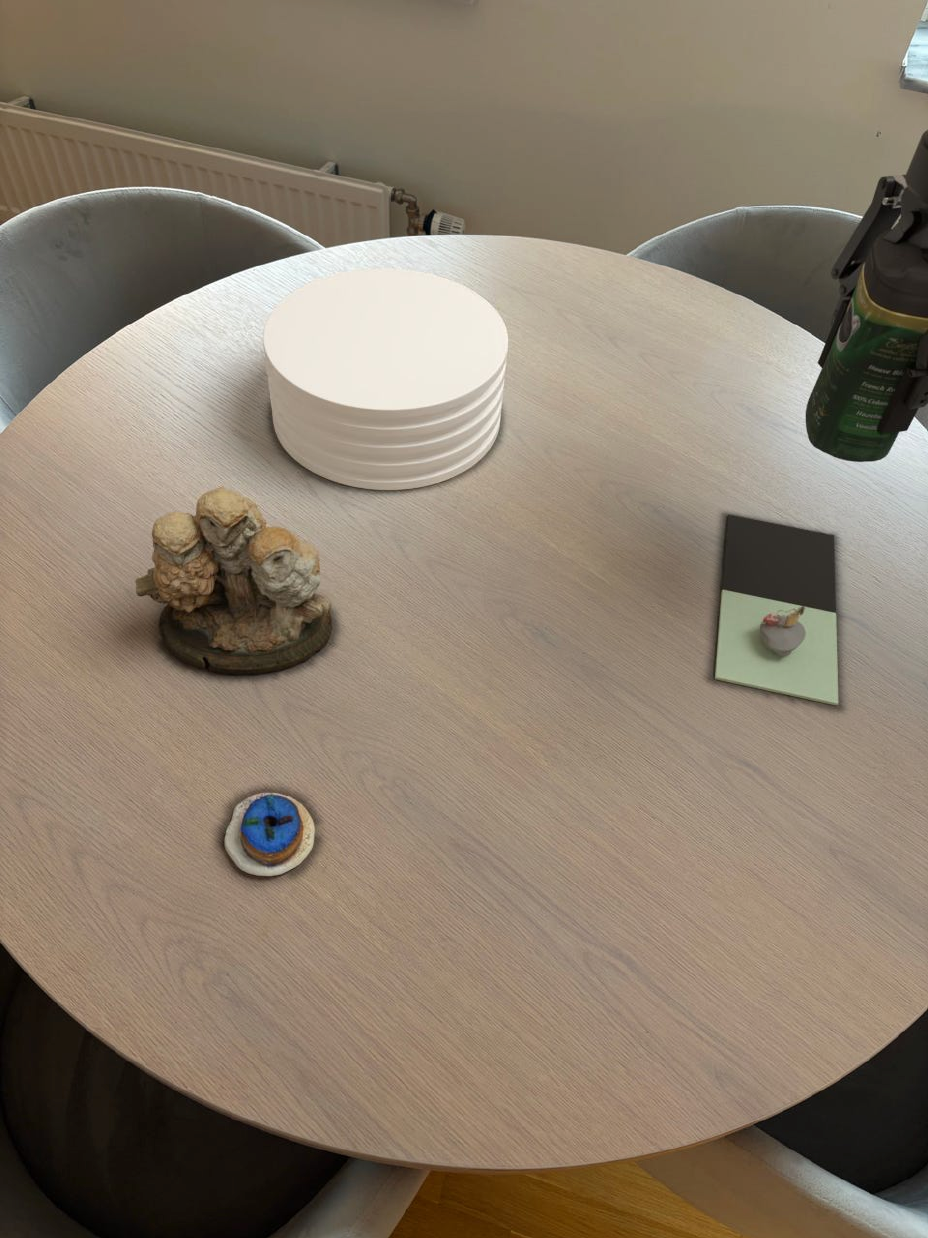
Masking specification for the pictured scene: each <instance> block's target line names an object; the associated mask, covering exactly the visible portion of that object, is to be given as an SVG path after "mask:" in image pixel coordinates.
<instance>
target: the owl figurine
mask: <svg viewBox="0 0 928 1238" xmlns="http://www.w3.org/2000/svg"><path fill="white" fill-rule="evenodd" d="M262 515H263V514H262V512H261V511H260V510H259V509H258V505H257V503H256V502H255V501H254V499H251V498H249V497H246V496H243V495H242V494H241V493H238V492H236V491H235V490H233V489H228V488H227V487H225V486H221V485H220V487H217V488H214V489H211V490H209V491H207V492H205V493H203V494H202V495H201V496H200V497H199V498H198V499H197V502H196V508H195V515H193V514H191V513H190V512H181V511H172V512H168V513H166V514H164V515H161V516H160V517H158V518H157V519H155V521H154V523H153V525H152V530H151V537H152V540H151V541H152V547H153V551H152V555H151V560H152V563H153V564H154V567H152V568H151V567H150V568H149V569H147V573H146V574H145V575H144V576H141V577H138V578H136V579H135V581H134V583H135V593H136V595H137V596H138V597H145V596H148V597H150V598H151V599H152V600H153V601H154V602H156V603H159V604H164V605H165V604H166V605H165V606H164V608H163V609H162V611H161V613H160V616H159V618H158V631H159V635H160V637H161V640H162V641H163V643H164V645H165V646H166V648H167V649H168V650H169V651H170V652H171V653H172V655H174V656H175V657H176V658H178V659H179V660H180V661H182V662H184V663H186V664H188V665H192V666H195V667H196V668H199V669H202V670H203V669H204V668H205V667H206V663H205V661H204V659H203V658H205V659H206V661H207V662H208V664H209V665H208V666H207V667H208V670H210V671H211V672H215V673H217V674H225V675H226V674H227V675H259V674H265V673H271V672H277V671H282V670H285V669H288V668H289V669H290V668H292V667H294V666H297V665H299V664H300V663H303V662H306V661H308V660H309V659H310V658H311V657H312V656H313V655H315V653H316V652H317V651H318V652H320V651H322V650H323V649H324V648H325V646H326V645H327V644H328V642H329V640H330V638H331V635H332V631H333V617H332V613H331V611H330V610H331V609H332V604H331V602H330V601H329V600H327V599H326V598H324V597H322V596H320V595H318V594H316V592H317V590H318V588H319V586H320V584H321V575H320V572H321V571H320V570H321V567H320V562H321V561H320V557H319V551H318V550H317V548H316V547H315V546H314V545H313V544H311V543H310V542H307V541H303V540H302V539H301V538H300V536H298V535H297V534H295V533H294V534H293V533H292V532H291V531H290V530H288V529H287V528H286V527H285V528H284V527H281V526H267V521H266V518H264V517H263V516H262Z"/></svg>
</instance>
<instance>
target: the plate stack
mask: <svg viewBox="0 0 928 1238" xmlns="http://www.w3.org/2000/svg"><path fill="white" fill-rule="evenodd" d="M262 342H263V343H262V344H263V351H264V357H265V358H264V360H265V367H266V373H267V383H268V390H269V401H270V407H271V414H272V424H273V429H274V432H275V434H276V437H277V439H278V441H279V443H280V444H281V446H282V447H283V449H284V450H285V451H286V452H287V454H288V455H289V456H290V457H291V458H292V459H293V460H295V462H297V463H298V464H299V465H300V466H302V467H304V468H305V469H307V470H309V471H310V472H311V473H313V474H316V475H317V476H320V477H322V478H324V479H327V480H329V481H331V482H335V483H338V484H341V485H345V486H349V487H354V488H359V489H364V490H375V491H400V490H401V491H402V490H411V489H418V488H423V487H429V486H432V485H435V484H439V483H441V482H445V481H448V480H451V479H452V478H455V477H457V476H459V475H461V474H462V473H464V472H466V471H468V470H469V469H471V468H472V467H473V466H475V465H476V464H477V463H478V462H480V461H481V460H482V459H483V458H484V457H485V456H486V455H487V454H488V452H489V451H490V450H491V449H492V447H493V445H494V443H495V442H496V439H497V437H498V434H499V431H500V425H501V418H502V417H501V416H502V406H503V399H504V398H503V396H504V387H505V376H506V369H507V358H508V352H509V351H508V350H509V334H508V329H507V327H506V324H505V322H504V320H503V318H502V316H501V315H500V313H499V312H498V311H497V309H496V308H494V306H493V305H492V304H491V303H490V302H489V301H487V299H485V298H484V297H483V296H481V295H480V294H478V293H477V292H475V291H474V290H473V289H470V288H468V287H467V286H465V285H463V284H461V283H459V282H456V281H453V280H451V279H449V278H446V277H442V276H439V275H436V274H432V273H427V272H423V271H417V270H412V269H402V268H391V267H390V268H389V267H388V268H386V267H385V268H383V267H381V268H380V267H378V268H377V267H376V268H361V269H353V270H347V271H341V272H337V273H332V274H329V275H326V276H323V277H319V278H317V279H314V280H311V281H310V282H307V283H305V284H303V285H301V286H299V287H297V288H296V289H294V290H293V291H291V292H290V293H287V295H286V296H284V297H283V298H282V299H281V300H279V302H278V303H277V304H276V305H275V306H274V307H273V309H272V310H271V312H270V313H269V315H268V317H267V318H266V321H265V324H264V327H263V332H262Z"/></svg>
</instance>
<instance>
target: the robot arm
mask: <svg viewBox="0 0 928 1238" xmlns="http://www.w3.org/2000/svg"><path fill="white" fill-rule="evenodd" d="M897 221H898V222H897ZM896 222H897V223H896ZM889 229H891V230H890V231H889V232H888V233H887V234H886V235H885V236H884V237H883V240H885V241H888V242H890V243H892V244H897V243H900V242H902V241H903V242H905V243H907V244H909V245H911V246H914V247H916V248H918V249H920V250H921V251H922V258H923V259H924V260H925V261H926V262H927V264H928V129H927V130H925V131H924V132H923V133H922V135H921V137H920V139H919V142H918V144H917V146H916V148H915V152H914V153H913V156H912V159H911V161H910V163H909V166H908V168H907V171H906V173H905V174H897V175H887V176H886V175H885V176H881V177H879V179H878V182H877V185H876V187H875V190H874V194H873V197H872V201H871V203H870V205H869V206H868V208H867V209H866V211H865V213H864V214H863V216H862V217H861V219H860V221H859V223H858V224H857V226H856V228H855V230H854V231H853V233H852V234H851V236H850V238H849V240H848V241H847V243H846V244H845V246H844V248H843V249H842V251H841V252H840V254H839V256H838V257H837V260H836V261H835V263H834V264H833V266H832V268H831V271H830V275H831V278H832V280H838V282H839V285H840V286H839V295H840V297H839V299H838V302H837V304H836V307H835V309H834V311H833V313H832V317H831V320H830V326H831V329H830V331H829V333H828V337H827V338H826V341H825V343H824V346H823V348H822V351H821V353H820V355H819V358H818V361H817V364H818V366H819V367H820V368H821V369H822V367H823V365H824V363H825V360H826V358H827V356H828V353H829V351H830V349H831V346H832V344H833V341H834V339H835V337H836V334H837V332H838V330H839V327H840V325H841V323H842V320H843V318H844V316H845V313H846V311H847V308H848V306H849V303H850V301H851V298H852V296H853V293H854V290H855V288H856V285H857V282H858V279H859V276H860V274H861V271H862V268H863V265H864V263H865V260H866V258H867V256H868V254H869V252H870V249H871V248H872V246H873V244H874V242H875V241H876V239H877V238H878V237H879V236H880V235H881V234H882V233H884V232H885V231H887V230H889ZM927 405H928V330H927V331H926V332H925V333H924V334H923V335H922V336H921V337H920V338H919V341H918V350H917V359H916V365H914V366H908V367H906V369H905V371H904V373H903V375H902V377H901V379H900V381H899V383H898V385H897V387H896V389H895V391H894V393H893V395H892V397H891V399H890V401H889V404H888V406H887V408H886V410H885V412H884V414H883V416H882V418H881V420H880V422H879V424H878V427H877V430H876V431H877V432H878V433H879V434H880V435H884V434H890V433H896V432H899V433H902V432H907V431H908V430H909V428H910V426H911V424H912V422H913V420H914V418H915V416H916V414H917V412H918V410H919V409H920V408H925V407H926V406H927Z"/></svg>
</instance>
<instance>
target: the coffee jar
mask: <svg viewBox="0 0 928 1238" xmlns="http://www.w3.org/2000/svg"><path fill="white" fill-rule="evenodd" d="M890 230H891V229H889V230H887V231H885V232H884V233H882V234H881V235H880V236H879V237H878V238H877V239H876V241H875V242H874V244H873V246H872V248H871V249H870V252H869V254H868V256H867V258H866V260H865V263H864V265H863V268H862V271H861V274H860V276H859V279H858V282H857V285H856V288H855V290H854V293H853V296H852V298H851V301H850V303H849V306H848V308H847V311H846V313H845V316H844V318H843V320H842V323H841V325H840V327H839V330H838V332H837V334H836V337H835V339H834V341H833V344H832V346H831V349H830V351H829V353H828V356H827V358H826V360H825V363H824V365H823V367H822V368H821V370H820V372H819V374H818V377H817V379H816V381H815V383H814V386H813V388H812V390H811V393H810V395H809V398H808V400H807V404H806V409H805V429H806V434H807V437H808V440H809V442H810V444H811V445H812V446H813V447H814V448H815V449H817V450H819V451H821V452H822V453H824V454H827V455H829V456H831V457H833V458H835V459H839V460H842V461H845V462H852V463H853V462H855V463H866V462H867V463H869V462H870V463H871V462H877V461H881V460H882V459H885V458H886V457H887V456H888V455H889V454H890V451H891V450H892V447H893V446H894V444H895V442H896V440H897V439H898V436H899V434H900V432H896V433H890V434H884V435H880V434H879V433H878V432H877V431H876V430H877V427H878V424H879V422H880V420H881V418H882V416H883V414H884V412H885V410H886V408H887V406H888V404H889V401H890V399H891V397H892V395H893V393H894V391H895V389H896V387H897V385H898V383H899V381H900V379H901V377H902V375H903V373H904V371H905V369H906V367H908V366H914V365H916V359H917V350H918V341H919V338H920V337H921V336H922V335H923V334H924V333H925V332H926V331H927V330H928V264H927V262H926V261H925V260H924V259H923V258H922V251H921V250H920V249H918V248H916V247H914V246H911V245H909V244H907V243H905V242H903V241H902V242H900V243H897V244H892V243H890V242H888V241H885V240H883V237H884V236H885V235H886V234H887V233H888V232H889V231H890Z"/></svg>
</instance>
